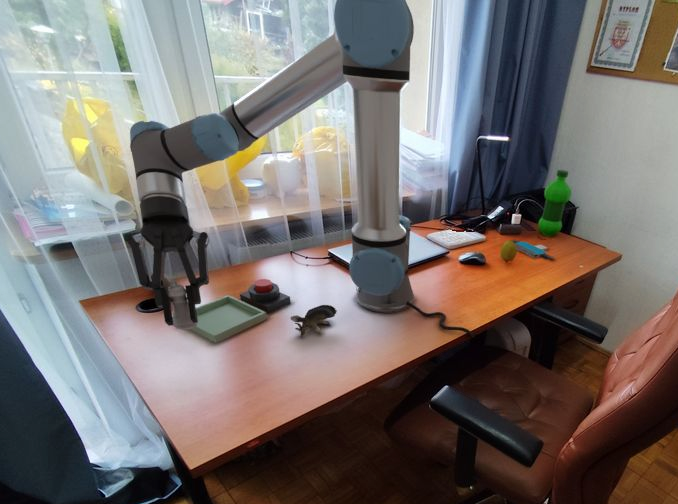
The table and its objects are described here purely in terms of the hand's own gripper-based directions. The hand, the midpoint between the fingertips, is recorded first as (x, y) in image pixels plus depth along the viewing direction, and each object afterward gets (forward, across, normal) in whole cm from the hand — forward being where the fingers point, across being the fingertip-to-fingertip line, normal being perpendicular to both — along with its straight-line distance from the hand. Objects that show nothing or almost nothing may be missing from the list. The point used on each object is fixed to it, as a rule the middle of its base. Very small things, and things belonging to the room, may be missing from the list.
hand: (182, 322), depth 77 cm
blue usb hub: (-22, -111, -37) cm, 119 cm away
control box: (-10, -15, -24) cm, 30 cm away
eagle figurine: (+2, -24, -13) cm, 28 cm away
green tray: (-5, -5, -20) cm, 21 cm away
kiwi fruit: (-16, -94, -32) cm, 100 cm away
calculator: (-33, -86, -48) cm, 104 cm away
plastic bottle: (-33, -129, -48) cm, 141 cm away
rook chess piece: (-1, 0, -5) cm, 5 cm away
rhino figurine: (-14, +6, -30) cm, 34 cm away
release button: (-12, -15, -22) cm, 29 cm away
